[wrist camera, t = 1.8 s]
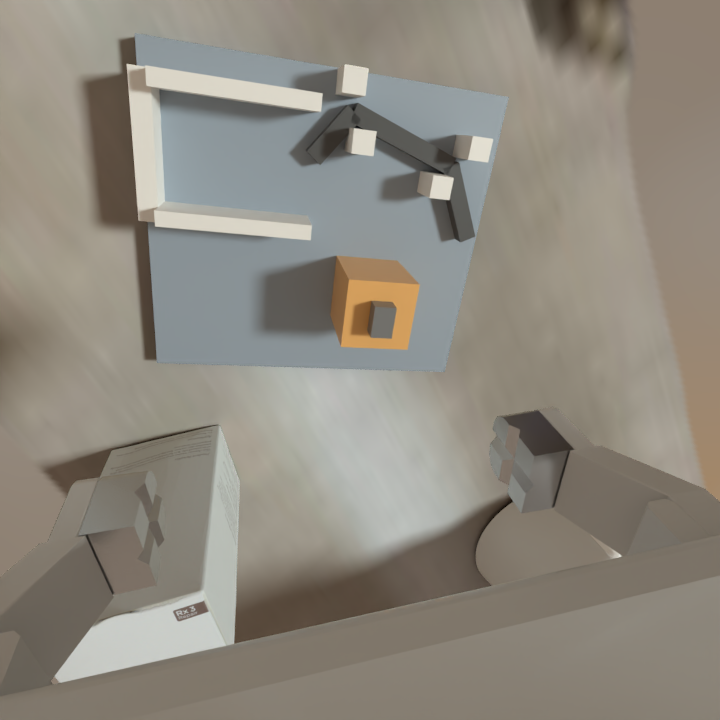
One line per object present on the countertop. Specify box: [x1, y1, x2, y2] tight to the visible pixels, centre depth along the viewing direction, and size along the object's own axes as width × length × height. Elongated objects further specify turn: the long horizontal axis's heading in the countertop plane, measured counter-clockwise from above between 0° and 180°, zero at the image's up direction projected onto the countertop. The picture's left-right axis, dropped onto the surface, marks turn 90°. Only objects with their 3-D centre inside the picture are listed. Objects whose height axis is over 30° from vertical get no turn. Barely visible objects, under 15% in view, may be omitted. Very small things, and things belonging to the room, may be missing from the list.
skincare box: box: [54, 425, 240, 683], centre depth 29 cm, size 8×6×15 cm
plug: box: [330, 256, 420, 350], centre depth 28 cm, size 4×4×6 cm
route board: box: [127, 33, 509, 372], centre depth 28 cm, size 20×18×4 cm
